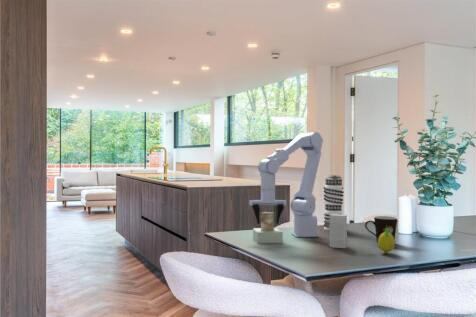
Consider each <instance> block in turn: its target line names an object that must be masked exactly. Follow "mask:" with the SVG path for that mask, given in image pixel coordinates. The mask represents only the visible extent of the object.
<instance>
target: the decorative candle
mask: <svg viewBox="0 0 476 317" xmlns="http://www.w3.org/2000/svg"><path fill="white" fill-rule="evenodd" d="M324 180H325V185H324V186H323V189H324V190H323V193H324V194H323V197H324V198H323V200H324V202H323V204H324V214H323V215H324V216H323V219H324V220H323V223H324V224H323V226H324V227H323V230H327V231H330V215H331V214H341V215H343V210H342V209H343V206H342V205H344V204H343V203H344V202H343V201H344V199H343V197H344V191H343V189H344V187H343V178H342V177H341V175H338V174H337V175H336V174H334V175H333V174H328V175H327V176H326V177H325V178H324Z"/></svg>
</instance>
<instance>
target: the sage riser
mask: <svg viewBox="0 0 476 317" xmlns="http://www.w3.org/2000/svg"><path fill="white" fill-rule="evenodd" d="M283 234H284V233H283V231H282V230H280V229H279V228H278V227H274V230H273V231H261V227H254V228H252V238H253V240H254V241H255V243H257V244H274V243H275V244H276V243H277V244H279V243H280V244H281V243H283V242H284V239H283V237H284V236H283Z"/></svg>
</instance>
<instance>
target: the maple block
mask: <svg viewBox="0 0 476 317" xmlns="http://www.w3.org/2000/svg"><path fill="white" fill-rule="evenodd" d="M260 228H261V231H273V230H274V228H275V212H273V211H272V212H271V211H263V212H261V213H260Z"/></svg>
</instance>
